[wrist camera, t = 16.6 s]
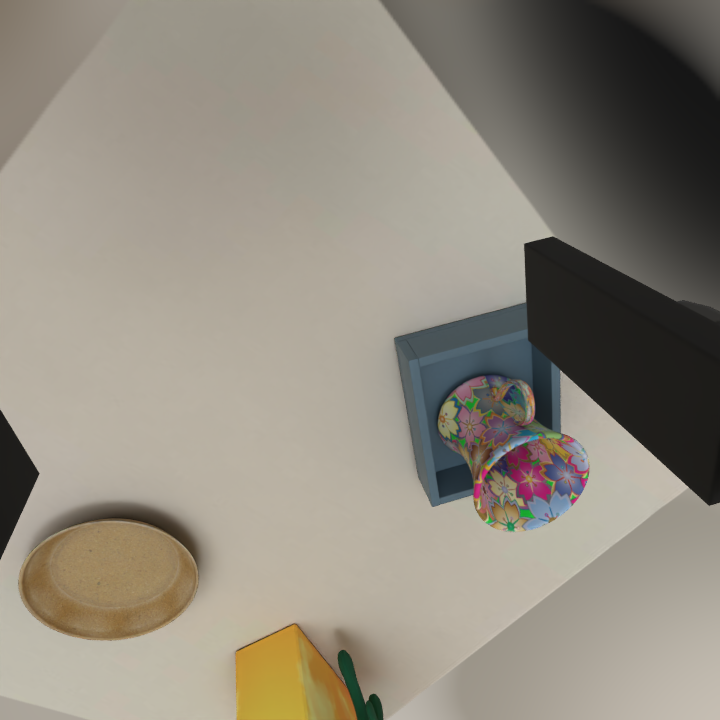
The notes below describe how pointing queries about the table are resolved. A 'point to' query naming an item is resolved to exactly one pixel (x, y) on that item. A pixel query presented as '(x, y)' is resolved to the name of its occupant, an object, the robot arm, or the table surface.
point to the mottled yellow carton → (297, 683)
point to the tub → (456, 366)
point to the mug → (512, 454)
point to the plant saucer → (108, 580)
